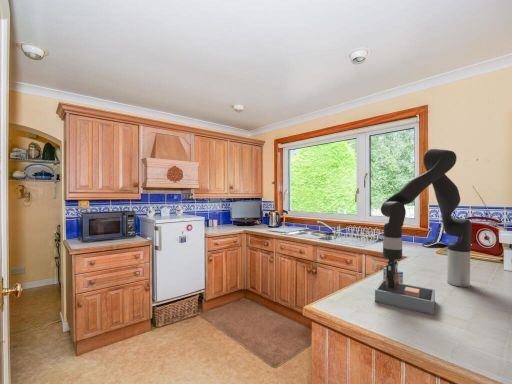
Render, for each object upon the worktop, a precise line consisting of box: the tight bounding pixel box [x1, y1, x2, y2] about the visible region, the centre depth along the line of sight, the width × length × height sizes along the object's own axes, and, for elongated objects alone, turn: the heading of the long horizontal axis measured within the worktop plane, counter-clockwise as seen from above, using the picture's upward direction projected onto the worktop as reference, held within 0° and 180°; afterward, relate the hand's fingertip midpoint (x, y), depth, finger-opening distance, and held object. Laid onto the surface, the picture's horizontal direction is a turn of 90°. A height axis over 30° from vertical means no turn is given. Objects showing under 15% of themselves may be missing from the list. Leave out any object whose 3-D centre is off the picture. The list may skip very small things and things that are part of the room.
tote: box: [374, 279, 436, 316], centre depth 112 cm, size 16×21×5 cm
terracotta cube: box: [404, 287, 420, 298], centre depth 110 cm, size 5×5×5 cm
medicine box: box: [382, 267, 404, 284], centre depth 128 cm, size 8×4×9 cm, turn 21°
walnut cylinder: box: [386, 271, 399, 290], centre depth 115 cm, size 5×5×7 cm
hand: (392, 285), depth 115 cm, fingers closed on walnut cylinder, 5 cm apart
